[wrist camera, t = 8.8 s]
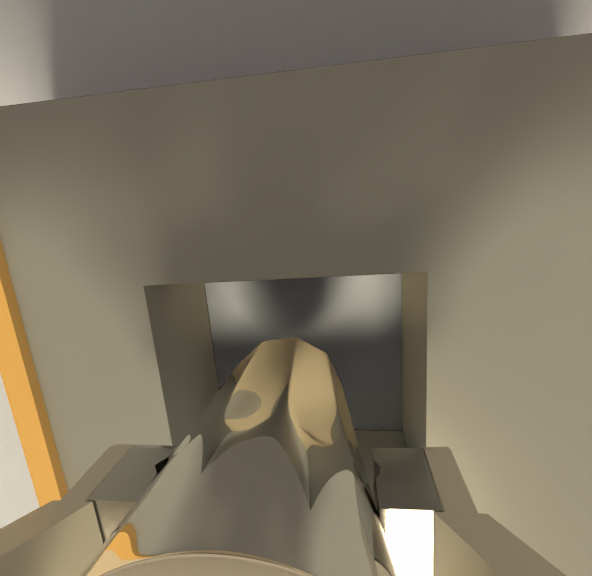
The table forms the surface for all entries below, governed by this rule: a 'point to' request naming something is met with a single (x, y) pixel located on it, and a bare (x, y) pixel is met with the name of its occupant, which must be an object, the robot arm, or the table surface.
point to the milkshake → (259, 484)
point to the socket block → (317, 258)
